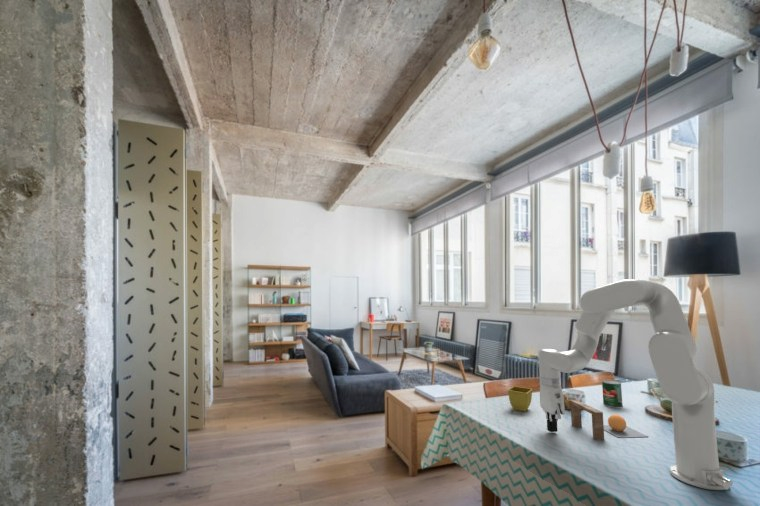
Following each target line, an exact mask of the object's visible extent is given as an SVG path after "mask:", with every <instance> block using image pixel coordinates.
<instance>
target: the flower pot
mask: <svg viewBox="0 0 760 506" xmlns="http://www.w3.org/2000/svg"><path fill="white" fill-rule="evenodd" d="M507 395H508V399H509V400H508V401H509V403H510V406H511V407H512V409H513V410H515V411H519V412H526V411H527V410H529V408H530V405H531V402H532V396H533V388H527V387H523V386H522V387H521V386H514V385H513V386H512V387H510V388H509V389H507Z"/></svg>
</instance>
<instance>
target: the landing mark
mask: <svg viewBox="0 0 760 506" xmlns="http://www.w3.org/2000/svg"><path fill="white" fill-rule="evenodd" d="M604 432H606V433H609V434H610V435H612V436H614V437H616V439H617V438H618V439H625V438H630V439H631V438H633V439H634V438H649V436H648V435H646V434H644V433H642V432H639V431H638V430H636V429H634V428H632V427H629V426H628V425H626V428H625V429H624V430H623V431H615V430H613V429H612V428H611V427H610V426H609V424H607V425H605V424H604Z"/></svg>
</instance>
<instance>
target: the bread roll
mask: <svg viewBox="0 0 760 506" xmlns="http://www.w3.org/2000/svg"><path fill="white" fill-rule="evenodd" d="M563 398H564V406H565V410H570V411H571V402H570V400H574V399H570V400H567V397H566V396H565V394H563Z"/></svg>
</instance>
